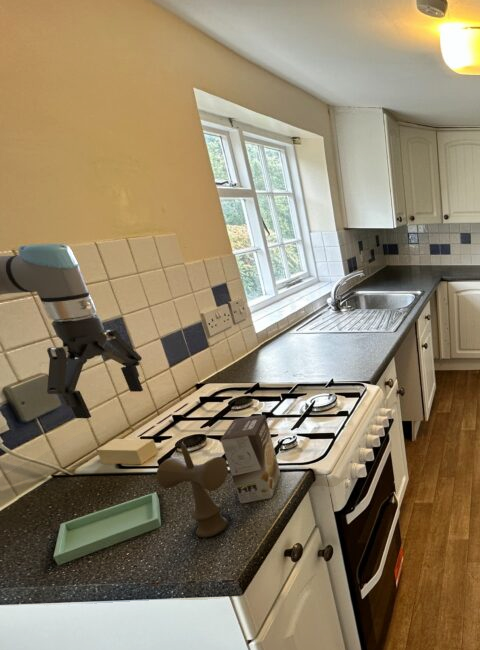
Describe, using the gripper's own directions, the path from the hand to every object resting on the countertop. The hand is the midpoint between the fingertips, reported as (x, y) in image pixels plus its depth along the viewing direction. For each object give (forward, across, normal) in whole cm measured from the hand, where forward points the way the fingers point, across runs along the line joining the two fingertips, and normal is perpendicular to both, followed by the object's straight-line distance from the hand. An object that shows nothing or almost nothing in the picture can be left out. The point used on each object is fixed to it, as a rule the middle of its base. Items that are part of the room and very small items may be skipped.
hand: (112, 403), depth 98 cm
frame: (+15, -24, -18) cm, 34 cm away
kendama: (+15, -24, -37) cm, 47 cm away
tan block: (+15, -1, 0) cm, 15 cm away
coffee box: (+16, -12, -39) cm, 44 cm away
